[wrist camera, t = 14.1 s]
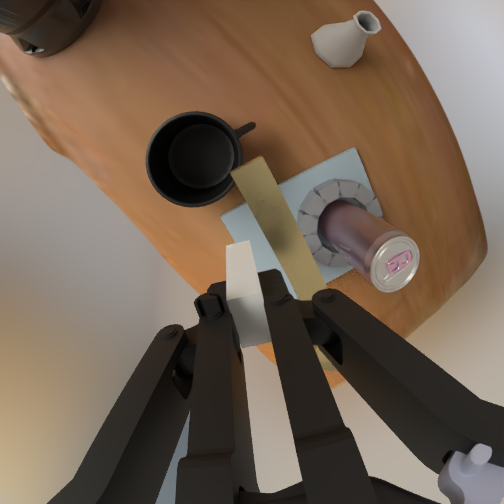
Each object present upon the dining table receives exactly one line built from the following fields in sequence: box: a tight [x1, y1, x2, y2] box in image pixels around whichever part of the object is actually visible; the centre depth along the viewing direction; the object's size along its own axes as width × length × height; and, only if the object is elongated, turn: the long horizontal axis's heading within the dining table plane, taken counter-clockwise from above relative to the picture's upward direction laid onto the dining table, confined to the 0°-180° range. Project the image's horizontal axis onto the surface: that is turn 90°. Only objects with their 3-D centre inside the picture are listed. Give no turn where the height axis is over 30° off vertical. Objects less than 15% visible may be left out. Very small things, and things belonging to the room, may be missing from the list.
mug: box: [146, 111, 256, 207], centre depth 29 cm, size 9×12×9 cm
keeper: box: [230, 156, 337, 371], centre depth 17 cm, size 4×16×1 cm, turn 28°
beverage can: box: [319, 200, 419, 292], centre depth 30 cm, size 6×6×15 cm
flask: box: [310, 11, 382, 68], centre depth 24 cm, size 7×7×10 cm
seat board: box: [220, 148, 383, 300], centre depth 29 cm, size 16×20×20 cm
